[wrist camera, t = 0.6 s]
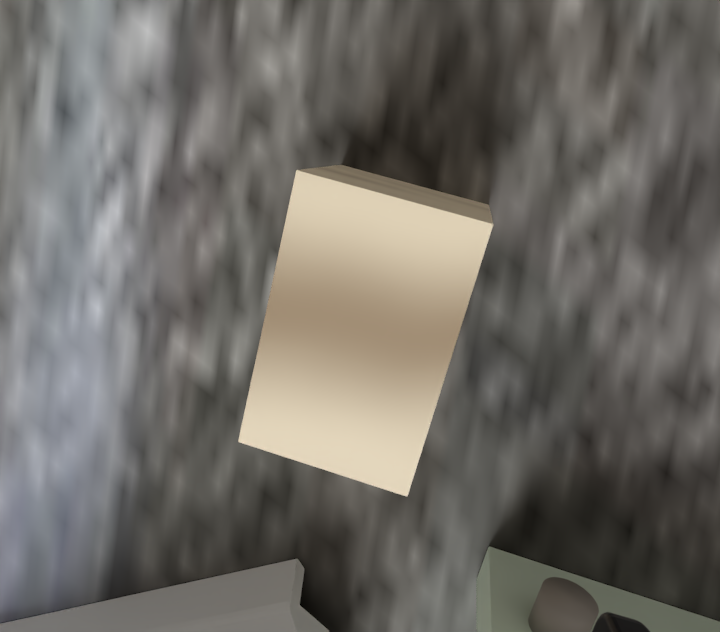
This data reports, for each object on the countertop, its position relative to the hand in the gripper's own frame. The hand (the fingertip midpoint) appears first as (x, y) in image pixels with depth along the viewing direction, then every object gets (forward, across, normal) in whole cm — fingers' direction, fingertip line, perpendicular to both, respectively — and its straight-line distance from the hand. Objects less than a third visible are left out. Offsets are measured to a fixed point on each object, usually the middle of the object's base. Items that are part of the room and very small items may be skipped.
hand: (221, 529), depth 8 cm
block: (+13, 0, 0) cm, 13 cm away
